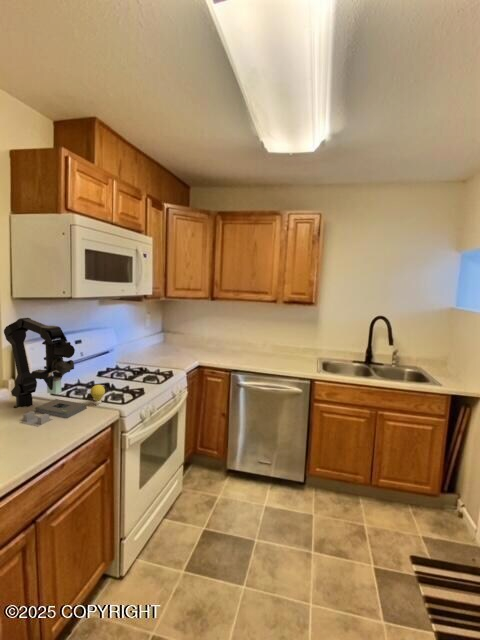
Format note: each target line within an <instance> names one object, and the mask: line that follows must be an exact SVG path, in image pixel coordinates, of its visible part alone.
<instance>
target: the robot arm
mask: <svg viewBox="0 0 480 640" xmlns="http://www.w3.org/2000/svg"><path fill="white" fill-rule="evenodd" d="M28 331H31V332H33V333H36V334H38V335H39V336H40V338H41V339H42V340H44V341H42V342H41V344H42V345H45V356H44V357H43V361H45V366H43V369H36V370H33V371H30V367H29V362H28V357H27V353H26V347H25V341H26V338H27V332H28ZM3 335H4V336H5V337H4V338H5V340H6V341H7V342H8V343H9V344H10V345H11V348H12V355H13V359H14V363H15V368H16V373H17V376H16V377H15V380H14V384H15V385H14V387H13V388H12V389H11V391H10V393H11V396H12V397H15V398H16V399H15V400H16V401H15V402H16V405H14V406H13V408H14V409H18V408H28V407H31V406H33V405H34V404H33V401H34V400H33V393H36V389H37V387H38V386H37V385H38V381H37V380H43V381H44V382H45V384H46V387H47V386H48V387H49V389H50V390H52V388H53V378H54V377H55V376H56V377H61V380H62V379H63V376H64V375H66V374H68V373H70V372H71V371H72V370H74V369H75V364H74V360H72V359H70V358H72V357H73V356H74V355H75V351H76V349H75V348H74V346H73V345H72V344H71V341H68V339H67V337H66V335H65V333H64V332H63V330H62V328H61V327H60V326H59V325H57V326H56V325H46V324H45V323H41V322H39V321H36V320H34V319H32V318H30V317H21V318H18V319H17V320H16V321H14V322H11V323H10V324H9V325H6V326H5V327H4V329H3ZM64 358H66V359H69V360H64Z"/></svg>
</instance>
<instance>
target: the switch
mask: <svg viewBox="0 0 480 640" xmlns="http://www.w3.org/2000/svg"><path fill="white" fill-rule="evenodd" d="M87 408H88V407H87V404H86V403H81V402H76V401H75V402H74V401H69V400H63V399H58V398H55V399H53V400H50V401H48V402H46V403H43V404H41V405H38V406H36V407H35V408H34V409H35V411H34V412H35V414H40V415H41V414H42V415H43V414H49V416H52V417H58V418H63V419H69V418H71V417H73V416H75V415H77V414H79V413H82V412H83V411H85V410H87Z"/></svg>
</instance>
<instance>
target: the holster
mask: <svg viewBox="0 0 480 640" xmlns="http://www.w3.org/2000/svg"><path fill="white" fill-rule="evenodd" d="M22 419H23V421H20V422H19V424H21V425H22V424H23V425H27V426H32V427H37V428H39V427H40V426H42V425H44V424H46V423H48V422H51V421H52V420H54V419H52V418H50V415H49V414H42V415H41V414H40V415H36V412H35V411H33V410H30V411H27V412H26V413H23V414H22Z"/></svg>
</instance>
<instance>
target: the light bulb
mask: <svg viewBox="0 0 480 640" xmlns="http://www.w3.org/2000/svg"><path fill="white" fill-rule="evenodd" d="M105 393H106V389H105V386H103V385H102V384H95V385H94V386H92V387H91V389H90V396H91V397H92V398H93V399H94V405H95V404H96V405H95V406H100V405H99V404H101V403H102V398H103V397H104V395H105ZM101 405H102V404H101Z"/></svg>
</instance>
